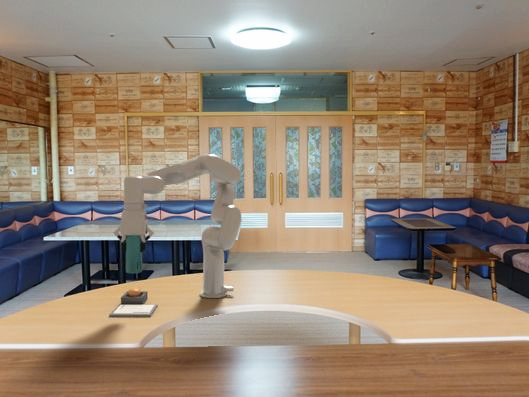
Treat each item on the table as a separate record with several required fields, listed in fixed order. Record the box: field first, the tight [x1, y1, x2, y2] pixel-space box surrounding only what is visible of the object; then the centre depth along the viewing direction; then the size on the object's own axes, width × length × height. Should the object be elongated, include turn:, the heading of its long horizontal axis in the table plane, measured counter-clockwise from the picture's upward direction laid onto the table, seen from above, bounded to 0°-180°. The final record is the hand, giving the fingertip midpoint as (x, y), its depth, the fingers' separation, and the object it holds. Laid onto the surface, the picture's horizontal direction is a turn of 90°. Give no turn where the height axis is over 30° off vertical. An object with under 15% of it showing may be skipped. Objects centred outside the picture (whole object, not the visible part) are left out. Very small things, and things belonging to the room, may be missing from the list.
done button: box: [128, 287, 141, 297], centre depth 187 cm, size 5×5×2 cm
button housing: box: [120, 290, 148, 304], centre depth 187 cm, size 9×9×4 cm
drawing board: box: [108, 303, 159, 318], centre depth 175 cm, size 16×13×1 cm
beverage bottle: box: [125, 235, 143, 274], centre depth 173 cm, size 6×7×20 cm
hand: (134, 251), depth 173 cm, fingers closed on beverage bottle, 6 cm apart
